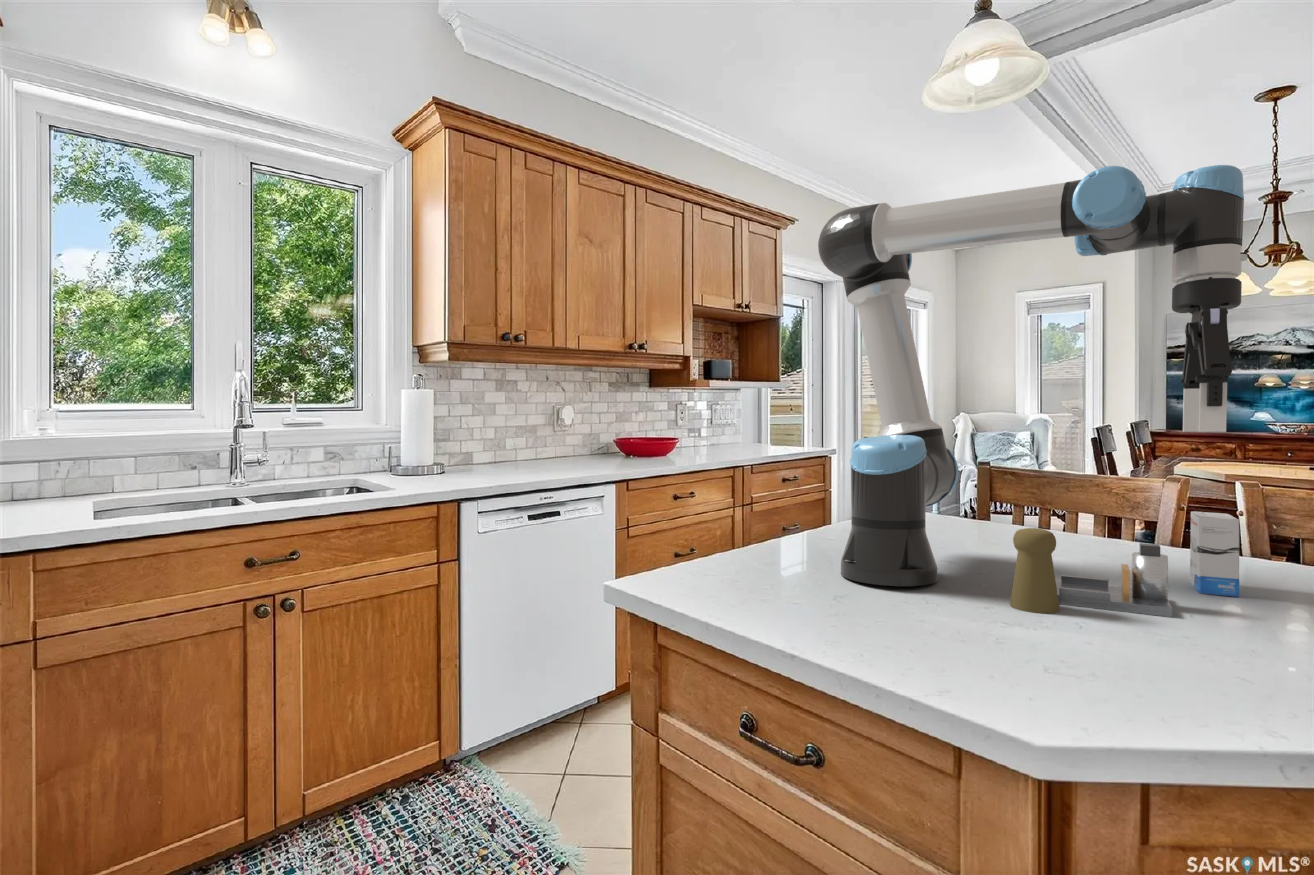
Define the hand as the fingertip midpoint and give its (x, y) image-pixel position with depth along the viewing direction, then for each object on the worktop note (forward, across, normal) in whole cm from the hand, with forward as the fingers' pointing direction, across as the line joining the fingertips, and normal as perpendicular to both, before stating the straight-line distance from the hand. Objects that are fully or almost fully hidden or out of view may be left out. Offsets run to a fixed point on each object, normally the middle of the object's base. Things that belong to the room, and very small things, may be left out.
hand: (1202, 432), depth 92 cm
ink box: (+25, +12, -3) cm, 27 cm away
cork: (+25, -14, +20) cm, 35 cm away
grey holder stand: (+25, -5, +12) cm, 28 cm away
